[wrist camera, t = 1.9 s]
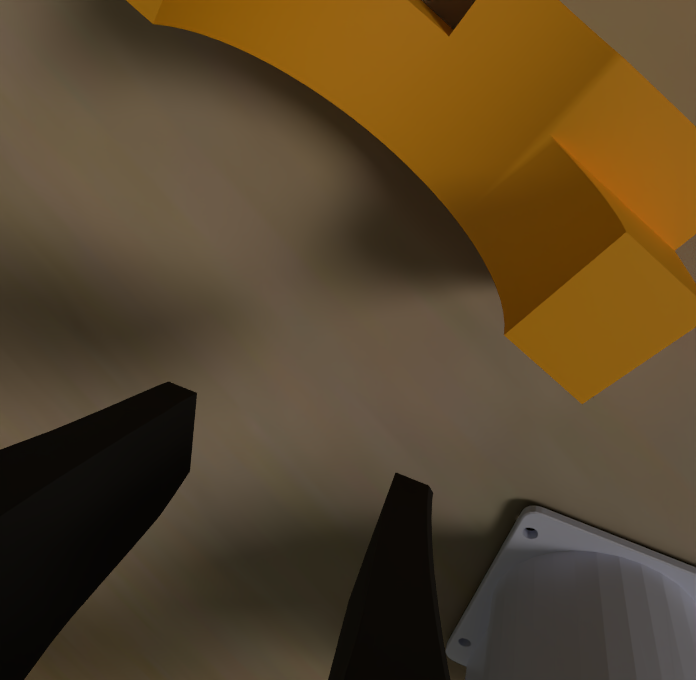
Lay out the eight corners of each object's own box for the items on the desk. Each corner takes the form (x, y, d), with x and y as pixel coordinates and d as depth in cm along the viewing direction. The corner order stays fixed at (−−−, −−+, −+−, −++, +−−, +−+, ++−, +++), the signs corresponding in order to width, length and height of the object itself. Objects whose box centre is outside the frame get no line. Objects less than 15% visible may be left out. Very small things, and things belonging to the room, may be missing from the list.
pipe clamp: (713, 157, 13) (833, 233, 8) (569, 279, 15) (581, 403, 10) (335, -203, 12) (165, -406, 7) (243, -16, 15) (63, -56, 9)
